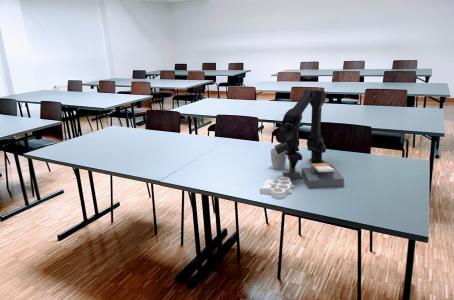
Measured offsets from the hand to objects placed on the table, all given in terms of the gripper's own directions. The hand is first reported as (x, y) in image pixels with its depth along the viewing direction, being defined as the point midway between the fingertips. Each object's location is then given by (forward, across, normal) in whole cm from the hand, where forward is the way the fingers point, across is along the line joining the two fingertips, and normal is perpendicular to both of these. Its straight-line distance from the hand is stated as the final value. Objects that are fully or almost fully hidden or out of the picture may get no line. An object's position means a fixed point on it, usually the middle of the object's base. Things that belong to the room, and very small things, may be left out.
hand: (292, 167), depth 172 cm
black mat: (+5, 0, 0) cm, 5 cm away
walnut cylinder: (+2, 0, 0) cm, 2 cm away
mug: (+5, -14, -4) cm, 15 cm away
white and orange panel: (-2, +7, +13) cm, 15 cm away
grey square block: (+5, +7, +13) cm, 15 cm away
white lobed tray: (+5, +14, -9) cm, 18 cm away
